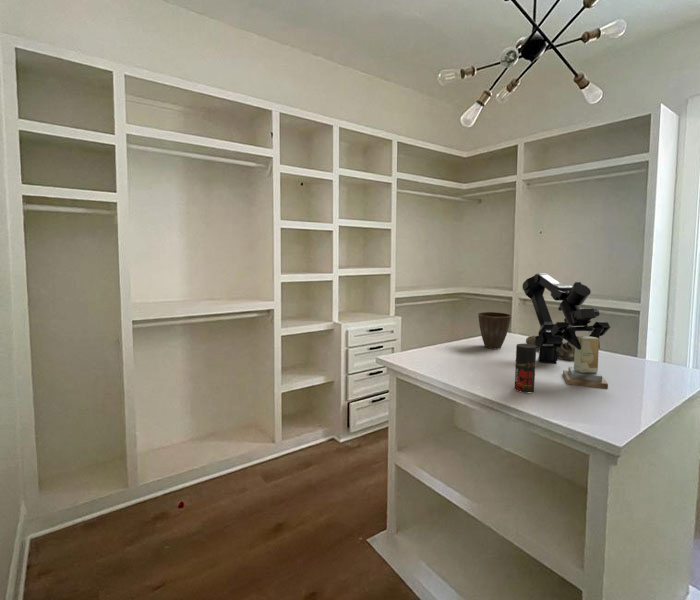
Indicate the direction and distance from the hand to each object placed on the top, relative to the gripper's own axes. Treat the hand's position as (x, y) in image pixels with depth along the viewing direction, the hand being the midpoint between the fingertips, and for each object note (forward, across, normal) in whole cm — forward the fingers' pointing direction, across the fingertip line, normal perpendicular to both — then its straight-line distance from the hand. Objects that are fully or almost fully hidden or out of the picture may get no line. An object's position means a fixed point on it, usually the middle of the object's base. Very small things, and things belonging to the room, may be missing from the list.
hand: (589, 349), depth 137 cm
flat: (-23, +10, +40) cm, 47 cm away
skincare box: (+5, 0, +7) cm, 8 cm away
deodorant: (+14, -26, +4) cm, 29 cm away
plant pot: (-29, -13, +46) cm, 56 cm away
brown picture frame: (+7, 0, +10) cm, 12 cm away
